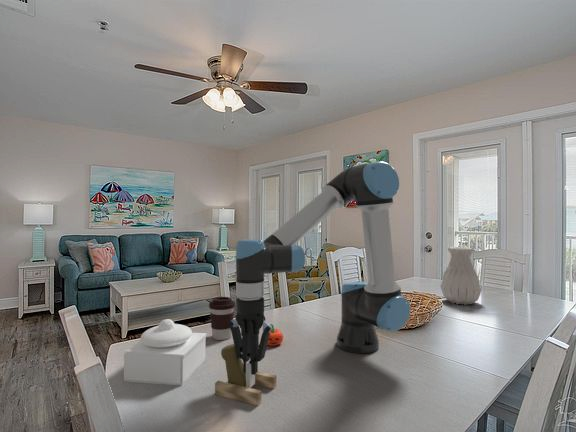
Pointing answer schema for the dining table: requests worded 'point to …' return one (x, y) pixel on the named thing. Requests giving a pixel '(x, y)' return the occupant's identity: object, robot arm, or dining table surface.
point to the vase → (460, 278)
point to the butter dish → (165, 355)
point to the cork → (233, 366)
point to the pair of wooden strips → (246, 389)
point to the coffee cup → (221, 317)
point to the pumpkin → (275, 337)
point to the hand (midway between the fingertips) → (250, 385)
